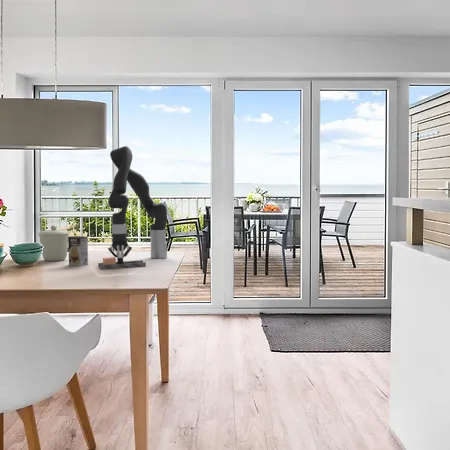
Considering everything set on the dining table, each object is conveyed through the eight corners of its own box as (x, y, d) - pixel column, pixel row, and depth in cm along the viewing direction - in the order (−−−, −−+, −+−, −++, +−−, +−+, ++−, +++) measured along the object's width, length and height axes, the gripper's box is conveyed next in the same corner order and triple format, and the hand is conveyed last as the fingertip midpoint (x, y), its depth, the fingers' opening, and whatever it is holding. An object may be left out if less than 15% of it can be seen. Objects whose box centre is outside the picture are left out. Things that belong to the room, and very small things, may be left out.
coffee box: (68, 265, 285) (67, 236, 284) (76, 263, 291) (75, 235, 289) (80, 266, 281) (79, 237, 279) (88, 264, 286) (87, 236, 285)
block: (114, 266, 274) (114, 256, 273) (116, 267, 268) (115, 258, 268) (103, 266, 272) (102, 257, 271) (104, 268, 266) (104, 259, 266)
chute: (142, 265, 281) (142, 260, 281) (146, 268, 272) (145, 262, 271) (98, 268, 273) (98, 262, 272) (100, 271, 263) (100, 265, 263)
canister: (32, 262, 298) (31, 226, 296) (48, 257, 315) (47, 223, 314) (61, 262, 294) (60, 226, 293) (75, 258, 312) (74, 224, 310)
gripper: (130, 231, 276) (131, 262, 277) (105, 232, 271) (106, 264, 273) (133, 232, 269) (133, 264, 270) (107, 233, 264) (108, 266, 266)
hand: (120, 264), depth 271 cm, fingers closed
